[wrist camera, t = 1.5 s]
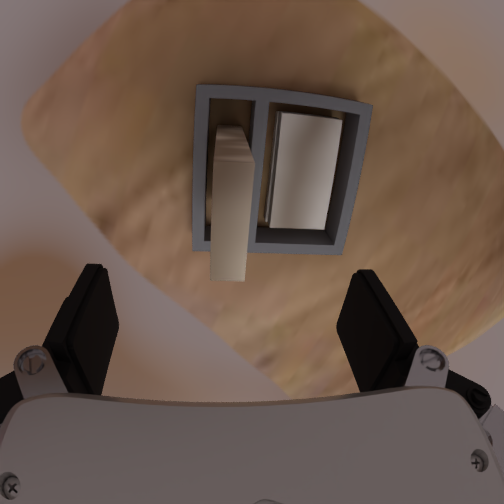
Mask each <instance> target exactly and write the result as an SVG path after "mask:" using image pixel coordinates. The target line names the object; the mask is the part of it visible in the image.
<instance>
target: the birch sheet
mask: <svg viewBox="0 0 504 504" xmlns="http://www.w3.org/2000/svg"><path fill="white" fill-rule="evenodd" d="M254 170H255V162H254V159H253V156H252V153H251V151H250V148H249V145H248V142H247V140H246V137H245V134H244V131H243V129H242V126H234V125H217V134H216V143H215V152H214V162H213V185H212V213H211V250H210V280H211V281H244V280H245V269H246V258H247V247H248V235H249V224H250V213H251V202H252V192H253V181H254Z"/></svg>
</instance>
